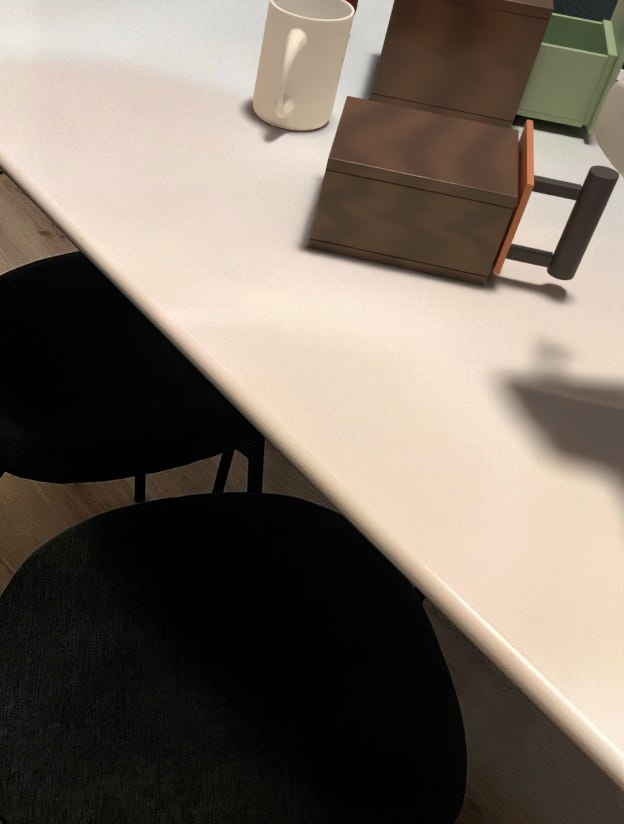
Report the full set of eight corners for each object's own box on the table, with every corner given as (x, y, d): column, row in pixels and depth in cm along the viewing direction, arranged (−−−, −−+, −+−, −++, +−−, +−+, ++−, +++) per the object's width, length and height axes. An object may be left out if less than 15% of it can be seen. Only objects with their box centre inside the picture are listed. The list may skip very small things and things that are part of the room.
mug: (231, 131, 106) (249, 17, 98) (264, 91, 113) (283, -18, 105) (310, 152, 104) (335, 38, 96) (338, 110, 112) (363, 1, 104)
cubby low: (488, 214, 99) (519, 130, 93) (484, 285, 90) (518, 197, 84) (327, 180, 101) (347, 95, 95) (307, 247, 92) (328, 157, 86)
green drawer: (642, 99, 120) (691, -10, 112) (652, 146, 111) (706, 31, 103) (458, 63, 122) (492, -48, 113) (453, 106, 113) (489, -10, 105)
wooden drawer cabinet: (511, 83, 122) (551, -31, 113) (510, 129, 113) (553, 8, 104) (380, 57, 124) (409, -58, 115) (369, 100, 115) (399, -21, 106)
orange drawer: (568, 220, 98) (611, 118, 91) (572, 290, 89) (620, 184, 82) (343, 173, 100) (368, 70, 92) (326, 237, 91) (352, 129, 84)
